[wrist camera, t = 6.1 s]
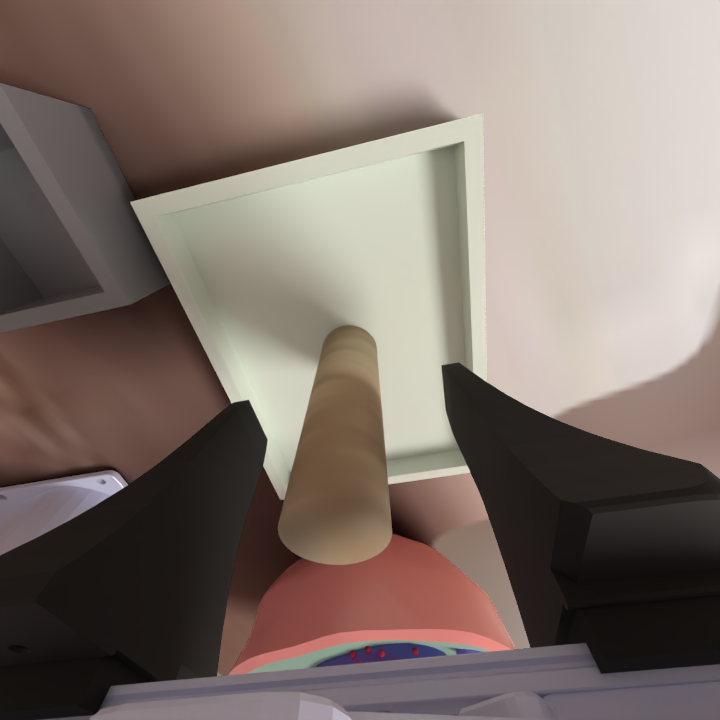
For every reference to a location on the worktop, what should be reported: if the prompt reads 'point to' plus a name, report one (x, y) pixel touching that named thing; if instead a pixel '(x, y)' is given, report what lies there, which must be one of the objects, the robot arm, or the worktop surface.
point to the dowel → (340, 459)
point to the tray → (339, 282)
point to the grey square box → (65, 217)
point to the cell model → (371, 613)
